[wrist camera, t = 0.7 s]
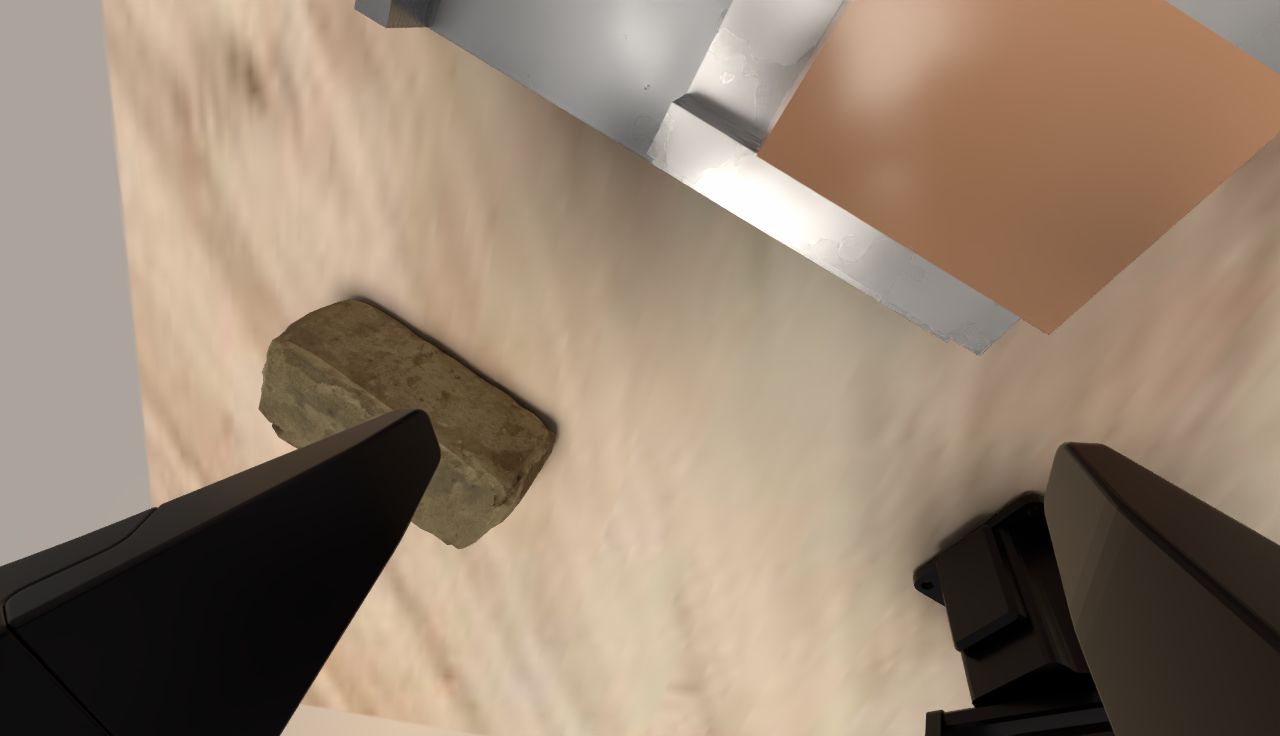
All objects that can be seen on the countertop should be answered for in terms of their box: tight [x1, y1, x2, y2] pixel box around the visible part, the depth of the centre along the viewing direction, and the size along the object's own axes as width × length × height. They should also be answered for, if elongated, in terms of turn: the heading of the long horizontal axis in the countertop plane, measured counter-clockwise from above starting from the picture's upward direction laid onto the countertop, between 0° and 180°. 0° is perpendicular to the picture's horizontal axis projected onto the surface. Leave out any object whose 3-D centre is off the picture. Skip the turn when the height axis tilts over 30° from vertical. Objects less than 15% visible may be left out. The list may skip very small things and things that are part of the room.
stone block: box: [259, 299, 555, 549], centre depth 25 cm, size 6×12×5 cm, turn 59°
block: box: [756, 0, 1280, 335], centre depth 13 cm, size 7×5×6 cm
